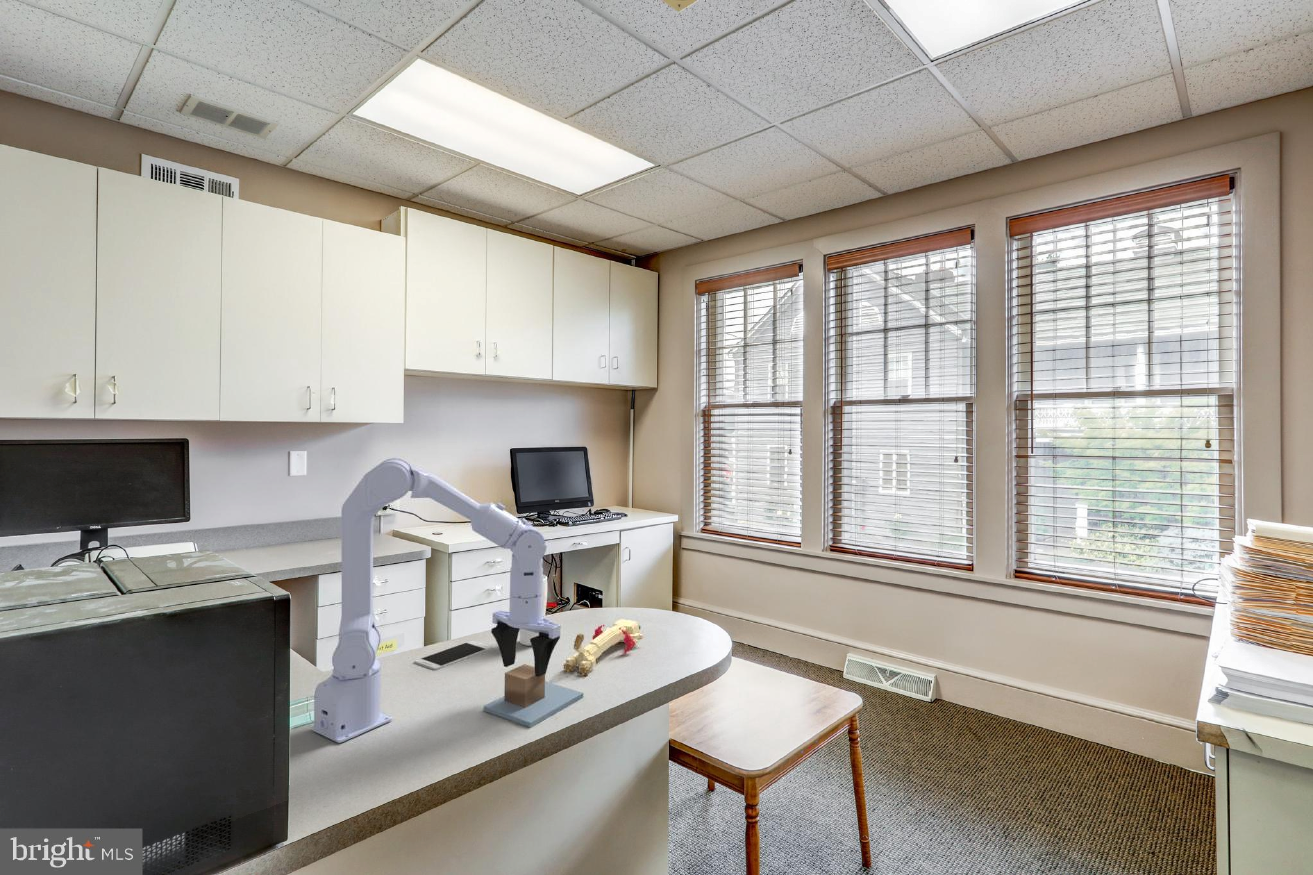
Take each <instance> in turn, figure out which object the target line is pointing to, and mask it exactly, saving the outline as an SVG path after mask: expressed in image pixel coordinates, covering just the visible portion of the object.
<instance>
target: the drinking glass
mask: <svg viewBox="0 0 1313 875" xmlns="http://www.w3.org/2000/svg"><path fill="white" fill-rule="evenodd" d="M547 601H548V576H547V575H545V574H543V593H542V614H544V618H546V610H547ZM536 636H539V633H535V632H531V631H527V630H524V629H520V630H519V643H520V644H521V645H522V646H525V647H526V646H527V647H532V645H531V642H530V639H531V638H533V637H536Z"/></svg>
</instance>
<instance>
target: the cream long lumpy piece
mask: <svg viewBox="0 0 1313 875" xmlns="http://www.w3.org/2000/svg"><path fill="white" fill-rule="evenodd" d="M605 626H606V625H605V624H602V625H600V626H598V627H597V628H595V629H594V634H593V635H592V640H591V641H590V642H589V643H588V644H587V645H586V646H585V647H584V646H583V645H582V643H583V642H584V641H585V635H584V633H578V634H577V635H576V636H575V640H574V644H573V650H575V652H576V653H574V654H573V655H572V656H571V657H566V659H565V663H563V670H565V671H566V672H568V673H572V672H573V671H574V670H575V669H576V666H577V667H578V673H580V674H581V676H587V675H589V674H590V673H591V669H593V668H595V666H597V659H598V658H599V657H600V656H602V653H604V652H605V651H607V650H608V649H609V648H610V647H613V646H614V645H616V644H618V643H624V644H625V647H626V648H624V651H622V652H621V653H622V654H626V653H627V652H630V651H631V649H632V648H633V647H634V646H635V644H637V643H639V641H641V640H644V634H642V633H640V630H641V625H640V624H639V623H638V622H637V621H635V620H630V619H629V620H628V619H623V618H621V619H619V620H617V621H616V622H614V624H612V627H606V629H605V631H603V630H602V629H603V627H604V628H605Z"/></svg>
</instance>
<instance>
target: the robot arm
mask: <svg viewBox="0 0 1313 875" xmlns="http://www.w3.org/2000/svg"><path fill="white" fill-rule="evenodd" d="M408 492H411V495H410V499H424V498H429V499H431V500H433V501H434V502H437V503H438V504H440V505H442V506H444V507H446V508H447V509H449V510H451V511H452V512H455V513H456V514H458V515H460V516H463V518H465V519H468V520H470V524H471V529H472V531H473V532H474V533H476V534H478V535H479V536H482V537H483V538H485V539H487V541H488V540H489V541H490V542H491V543H493V544H495V545H497V546H498V547H500V548H501V549H503V550H504V549H507V550H510V551H511V553H512V554H511V566H510V570H509V571H510V572H509V575H510V577H509V611H506V610H497V611H495V612H492V621H491V622H492V624H494V625H495V627H492V628H491V631H490V632H491V634H492V636H493V638H494V640H495V641H496V644H497V646H498V649H499V651H500V656H501V660H502V664H503V667H505V668H508V667H510V666H513V665H515V663H516V658H517V657H516V655H517V642H518V638H519V634H520V631H519V630H520V629H524V630H527V631H531V632H535V633H539V636H536V637H533V638H531V639H530V642H531V645H532V646H531V648H532V651H533V652H532V653H533V657H534V658H533V659H534V667H535V676H537V677H540V676H542V675H544V674H545V675H546V674H547V670H548V666H549V664H550V659H551V657H552V654H553V651H554V650H555V647H556V646H557V644H558V641H559V640H561V624H558V623H555V622H554V621H551V620H550V619H547V618H546V617H545V618H544V614H542V593H543V575H544V568H543V562H544V561H543V560H544V559H543V557H544V556H545V554H546V551H547V547H548V546H547V544H546V540H545V538H544V536H543V535H542V533H541V532H540V531H539V530H538V529H537V528H536V527H534V525H533V524H532V523H528V520H526V519H525V518H521V519H519V518H518V517H517V516H515V515H513V514H511V513H510V512H508V511H506V510H505V508H506V506H505V505H503V504H502V503H500V502H497V504H495V503H494V502H486V503H478V502H477V501H475V500H474V499H472V498H471V497H469V496H467V495H466V494H464V493H463V492H462V491H460V490H458V489H457V488H455V487H454V486H453V485H451V484H449V483H448V482H447V481H445V480H443V479H441V478H440V477H439V476H437V475H435V474H434V473H432V472H429V471H427V470H425V469H423V468H421V467H420V466H417V465H415V464H414V465H412V466H411V464H410V463H408V462H407V461H406V460H404V459H402V458H396V457H393V458H388V459H385V460H383V461H382V462H380V463H379V464H378V465H376V466H375V467H373V468H371V470H369V471H368V472H367V473H365V474H364V475H363V476H362V478H361V479H360V481H359V482H358V483H357V485H356V486H355V488H354V489H353V490H352V492H351V493H350V494H349V495H348V497H347V498H346V499H345V501H344V502H343V504H342V506H341V525H340V527H341V617H340V624H339V628H338V629H339V630H338V643H337V645H336V647H335V649H334V651H333V653H332V657H331V664H332V667H333V669H332V673H331V675H330V676H329V677H327V678H325V680H323V681H321V682H319V683H318V684H316V687H315V689H314V693H313V694H314V698H313V700H314V702H313V703H314V704H313V705H314V706H313V708H314V709H313V713H314V714H313V715H314V716H313V726H311V728H310V729H312V730H311V731H313V732H315V733H317V734H319V735H321V736H324V737H325V738H328V739H330V740H332V741H334V742H336V743H338V744H340V743H344V742H346V741H348V740H350V739H353V738H356V737H358V736H360V735H361V734H364V733H366V732H368V731H371V730H372V729H376V728H378V727H380V726H382V725H384V724H387V723H388V722H391V721H392V720H393V717H392V716H391V715H388V714H385V713H383V712H382V711H381V710H382V709H381V708H382V707H381V706H382V705H381V699H382V696H381V694H382V691H381V690H382V689H381V688H382V686H381V684H382V678H381V677H382V663H381V662H380V660H378V658H377V655H376V654H377V651H378V649H379V647H380V644H381V634H380V631H379V629H378V627H377V625H376V623H375V621H376V620H375V610H374V517H375V515H376V514H378V513H379V512H380V511H381V510H382V509H383V508H385V506H386V505H388V504H391V503H393V502H394V503H395V501H397V500H400V499H401V498H403V497H404V496H406V495H407V494H408Z"/></svg>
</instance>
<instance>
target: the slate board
mask: <svg viewBox="0 0 1313 875" xmlns="http://www.w3.org/2000/svg"><path fill="white" fill-rule="evenodd" d="M583 698H584V692H581V691H579V690H575V689H573V688H569V687H565V686H562V685H559V684H556V683H553V682H550V681H549V682H548V681H546V680H545V698H543V699H541V700H539V701H537V702H536V703H534V704H532V705H530V706H528V707H526V708H524V707H521V706H518V705H515V704H512V703H509V702H506V701H504V695H503V696H500V697H499V698H497V699H495V700H493V701H491V702H488V703H487V704H485V705H483V709H482V710H483V712H487V713H488V714H492V715H495V716H497V717H500V718H502V719H505V720H509V721H510V722H514V723H516V724H519V725H523V726H524V727H528V728H532V727H534V726H536V725H537V724H540V723H542V722H543V721H544V720H547V719H548V718H550V717H552V716H553V715H555V714H556V713H558V712H560V711H562V710H564V709H566V708H567V707H569V706H571V705H572V704H574V703H576V702H577V701H579V700H581V699H583Z"/></svg>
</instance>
